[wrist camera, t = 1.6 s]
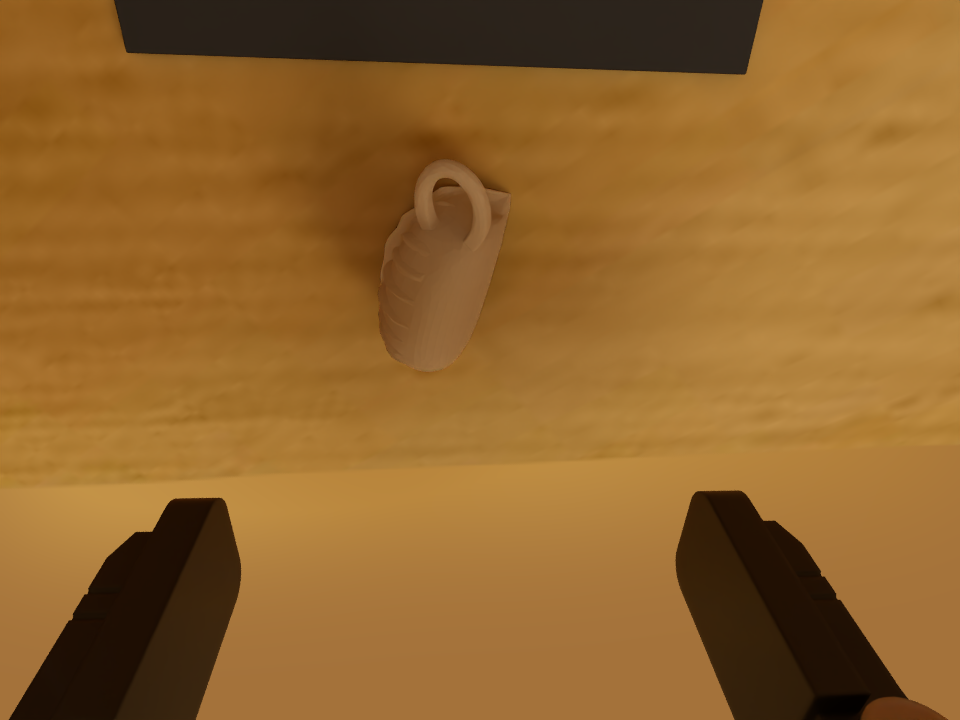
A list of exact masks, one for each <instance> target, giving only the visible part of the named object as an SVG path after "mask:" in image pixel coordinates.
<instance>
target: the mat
mask: <svg viewBox="0 0 960 720" xmlns="http://www.w3.org/2000/svg"><path fill="white" fill-rule="evenodd" d="M114 1H115V5H116V10H117V14H118V18H119V22H120V27H121V31H122V35H123V40H124V44H125V48H126V52H128V53H148V54H177V55H205V56H234V57H262V58H290V59H319V60H347V61H376V62H404V63H433V64H461V65H489V66H518V67H546V68H575V69H603V70H632V71H660V72H688V73H717V74H746V71H747V67H748V63H749V59H750V54H751V50H752V46H753V42H754V37H755V33H756V29H757V25H758V20H759V16H760V12H761V8H762V3H763V0H114Z"/></svg>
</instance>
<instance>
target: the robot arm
mask: <svg viewBox="0 0 960 720" xmlns="http://www.w3.org/2000/svg"><path fill="white" fill-rule="evenodd" d="M676 572H677V578H678V582H679V586H680V589H681V591H682V594H683V596H684V598H685V601H686V603H687V606H688V608H689V610H690V613H691V615H692V618H693V620H694V622H695V625H696V627H697V630H698V632H699V635H700V637H701V639H702V642H703V644H704V647H705V649H706V651H707V654H708V656H709V659H710V661H711V664H712V666H713V668H714V671H715V673H716V676H717V678H718V681H719V683H720V685H721V688H722V690H723V693H724V695H725V697H726V700H727V702H728V705H729V707H730V709H731V712H732V714H733V717H734V719H735V720H948V719H946V718H945V717H943V716H942V715H940V714H939V713H937V712H936V711H934V710H932V709H930V708H929V707H927V706H925V705H922V704H920V703H918V702H915V701H912V700H909V699H908V698H907V697H906V696H905V694H904V693H903V692H902V691H901V689H900V688H899V686H898V685H897V684H896V682H895V680H894V679H893V677H892V676H891V674H890V673H889V671H888V670H887V668H886V667H885V665H884V664H883V662H882V661H881V659H880V658H879V656H878V655H877V654H876V652H875V651H874V649H873V648H872V646H871V645H870V643H869V642H868V640H867V639H866V637H865V636H864V635H863V633H862V631H861V630H860V629H859V627H858V625H857V624H856V622H855V621H854V619H853V618H852V617H851V615H850V614H849V612H848V611H847V609H846V608H845V606H844V605H843V603H842V602H841V600H837V598H836V593H835V591H834V590H833V588H832V587H831V585H830V584H829V583H828V581H827V580H826V578H825V577H822V576H821V574H820V573H821V571H820V569H819V568H818V566H817V565H816V563H815V562H814V560H813V559H812V557H811V556H810V554H809V553H808V551H807V550H806V548H805V547H804V545H803V544H802V543H801V542H800V541H798V540H797V539H796V538H795V537H794V536H792V535H791V534H790V533H789V532H788V531H787V530H785V529H784V528H783V527H782V526H781V525H779V524H778V523H777V522H776V521H763V520H762V519H761V517H760V515H759V514H758V512H757V511H756V509H755V507H754V506H753V504H752V503H751V501H750V499H749V498H748V497H747V495H746V494H745V493H743V492H742V491H698V492H696V493H695V494H694V495H693V497H692V499H691V502H690V506H689V509H688V513H687V516H686V520H685V523H684V527H683V530H682V534H681V537H680V541H679V544H678V548H677V552H676ZM240 581H241V563H240V557H239V553H238V550H237V546H236V542H235V537H234V533H233V530H232V525H231V521H230V517H229V513H228V509H227V506H226V503H225V501H224V500H223V499H222V498H185V499H184V498H182V499H173V500H171V501H170V502H169V503H168V505H167V506H166V508H165V510H164V511H163V513H162V515H161V517H160V519H159V521H158V522H157V524H156V526H155V528H154V530H153V531H152V532H135V533H134V534H133V535H132V536H131V537H130V538H129V539H128V540H126V541H125V542H124V543H123V544H122V545H121V546H120V547H119V548H117V549H116V550H115V551H114V552H113V553H112V554H111V555H110V556H108V557H107V559H106V560H105V562H104V563H103V565H102V567H101V569H100V570H99V572H98V573H97V575H96V577H95V578H94V580H93V581H92V583H91V585H90V586H89V588H88V589H89V591H88V594H85V595H84V597H83V598H82V600H81V601H80V603H79V605H78V606H77V608H76V610H75V611H74V613H73V619H72V620H70V621H68V623H67V624H66V626H65V628H64V630H63V631H62V633H61V634H60V636H59V638H58V639H57V641H56V643H55V644H54V646H53V648H52V649H51V651H50V652H49V654H48V656H47V657H46V659H45V661H44V662H43V664H42V666H41V667H40V669H39V671H38V673H37V674H36V676H35V678H34V679H33V681H32V682H31V684H30V686H29V687H28V689H27V690H26V692H25V694H24V695H23V697H22V699H21V700H20V702H19V704H18V705H17V707H16V709H15V711H14V712H13V714H12V715H11V717H10V719H9V720H196V717H197V714H198V711H199V708H200V705H201V702H202V699H203V696H204V694H205V690H206V688H207V685H208V682H209V679H210V676H211V673H212V670H213V667H214V664H215V661H216V659H217V656H218V653H219V650H220V647H221V644H222V641H223V638H224V635H225V632H226V629H227V627H228V624H229V620H230V617H231V615H232V612H233V609H234V606H235V603H236V600H237V597H238V593H239V588H240Z"/></svg>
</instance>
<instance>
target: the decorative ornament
mask: <svg viewBox="0 0 960 720" xmlns="http://www.w3.org/2000/svg"><path fill="white" fill-rule="evenodd" d="M441 178H450V179H453V180H454V181H456V182H457V183H459V185H460V186H461V187H458V186H445V187H440V188H439V189H438V190H436V191H435V192H434V193H433V187H434V185H435V183H436V182H437V180H439V179H441ZM510 203H511V194H510V193H506V192H502V191H497V190H492V189H487V188H484V186H483V185H482V183H481V181H480V180H479V178H478V177H477V176H476V175H475V174H474V172H472V171H471V170H470V169H469V168H468V167H467V166H465V165H463V164H461V163H459V162H457V161H454V160H449V159H441V160H437V161H433V162H432V163H430V164H429V165H428V166H426V167H425V169H424V170H423V171H422V173H421V174H420V176H419V178H418V180H417V183H416V186H415V191H414V205H415V207H414V208H413V209H412V210H410V211H408V212H407V213H405V214H403V215H402V217H401V219H400V221H399V224H398V226H397V228H396V229H395V230H394V231H393V232H392V233H391V235H390V236H389V237H388V239H387V242H386V244H385V250H384V260H383V264H382V268H381V275H380V280H381V286H380V287H379V291H378V297H379V302H380V306H379V314H378V315H379V321H380V324H379V328H380V334H381V336H382V339H383V340H384V342H385V345H386V349H387V351H388V353H389V354H390V355H391V357H392V358H394V359H395V360H397V361H399V362H401V363H404V364H406V365H407V366H409V367H411V368H414V369H416V370H419V371H424V372H432V371H437V370H442V369H444V368H446V367H448V366H449V365H450V364H452V363H453V362H454V361H455V360H456V359H457V358H458V357H459V355H460V354H461V352H462V351H463V349H464V348H465V346H466V345H467V343H468V341H469V339H470V337H471V335H472V333H473V330H474V328H475V326H476V323H477V321H478V318H479V315H480V312H481V309H482V306H483V303H484V300H485V297H486V294H487V291H488V288H489V285H490V281H491V278H492V275H493V271H494V268H495V265H496V261H497V258H498V254H499V251H500V248H501V244H502V240H503V235H504V231H505V227H506V223H507V218H508V214H509V210H510Z"/></svg>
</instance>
